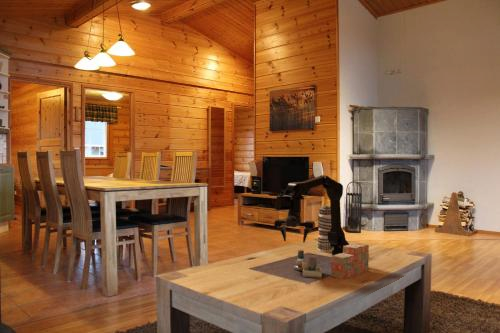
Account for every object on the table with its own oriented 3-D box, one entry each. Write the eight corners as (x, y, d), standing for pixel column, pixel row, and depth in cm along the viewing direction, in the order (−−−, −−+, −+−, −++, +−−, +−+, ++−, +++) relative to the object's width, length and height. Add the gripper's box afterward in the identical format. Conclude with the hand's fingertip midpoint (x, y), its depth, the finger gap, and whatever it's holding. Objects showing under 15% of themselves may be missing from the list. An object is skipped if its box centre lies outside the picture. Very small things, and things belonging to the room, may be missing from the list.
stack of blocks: (343, 279, 186) (343, 251, 186) (330, 276, 191) (331, 248, 190) (368, 270, 201) (369, 244, 201) (356, 268, 206) (357, 242, 205)
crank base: (306, 268, 204) (306, 259, 204) (305, 271, 198) (306, 262, 198) (293, 267, 205) (293, 259, 205) (292, 270, 199) (292, 262, 199)
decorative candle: (317, 248, 249) (317, 205, 249) (333, 249, 248) (334, 205, 247) (317, 251, 240) (318, 206, 239) (334, 252, 239) (335, 207, 238)
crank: (303, 266, 200) (303, 255, 200) (296, 266, 200) (296, 255, 200) (304, 261, 211) (304, 250, 210) (297, 260, 211) (297, 250, 211)
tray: (321, 272, 196) (321, 267, 196) (321, 277, 188) (321, 272, 188) (303, 271, 197) (303, 266, 197) (302, 276, 189) (302, 270, 189)
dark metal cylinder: (316, 272, 194) (316, 256, 194) (316, 274, 191) (316, 258, 190) (308, 272, 195) (308, 256, 195) (308, 274, 191) (308, 258, 191)
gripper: (270, 210, 201) (270, 243, 202) (310, 212, 195) (310, 246, 196) (277, 207, 212) (277, 239, 212) (315, 209, 206) (315, 242, 206)
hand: (294, 241), depth 206 cm, fingers open, 9 cm apart
